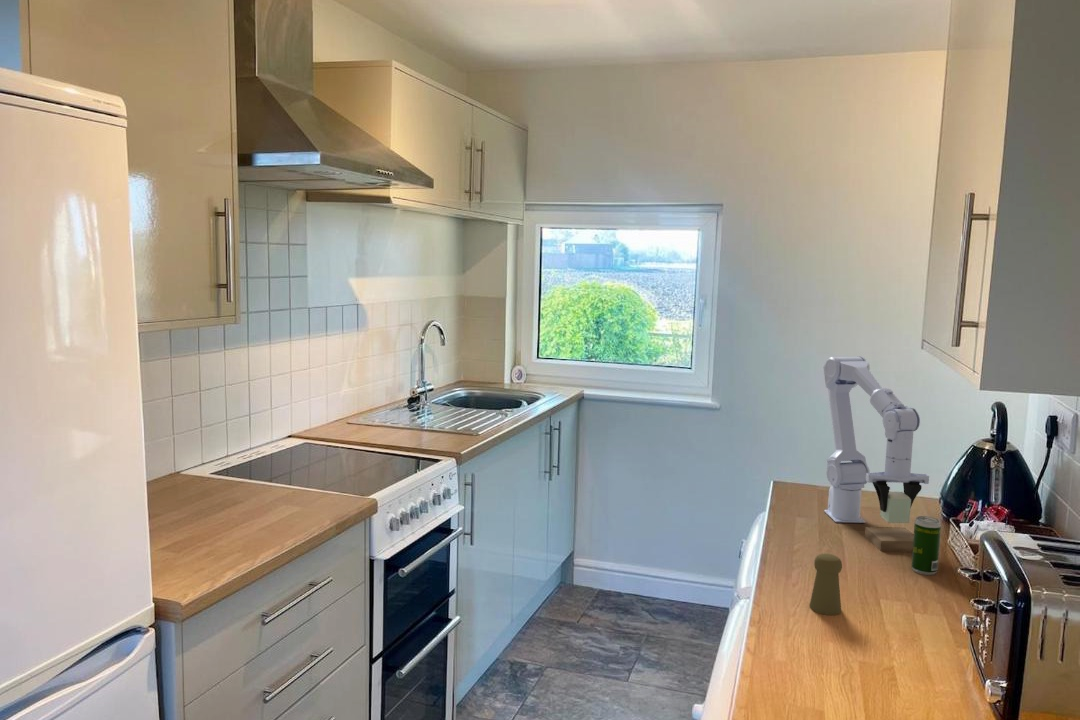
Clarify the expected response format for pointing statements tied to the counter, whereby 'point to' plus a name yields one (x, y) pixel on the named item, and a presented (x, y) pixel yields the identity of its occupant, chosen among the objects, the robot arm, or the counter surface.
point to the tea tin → (897, 508)
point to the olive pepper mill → (826, 585)
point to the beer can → (926, 545)
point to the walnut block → (890, 538)
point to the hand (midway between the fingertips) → (894, 510)
